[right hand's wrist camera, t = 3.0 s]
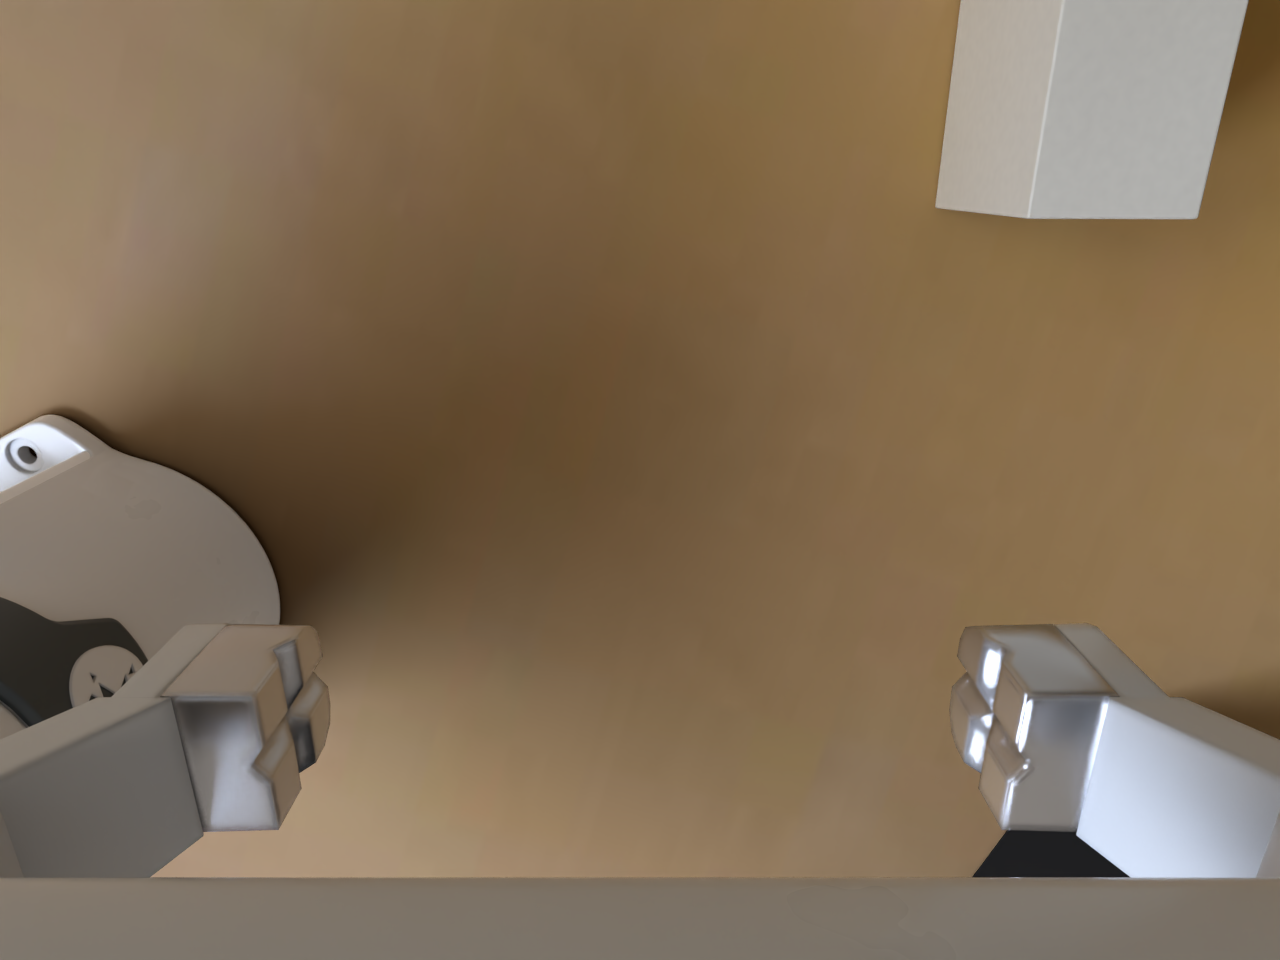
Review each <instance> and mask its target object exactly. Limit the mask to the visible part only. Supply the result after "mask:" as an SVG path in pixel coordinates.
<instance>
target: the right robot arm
mask: <svg viewBox="0 0 1280 960" xmlns="http://www.w3.org/2000/svg"><path fill="white" fill-rule="evenodd" d="M29 447H30V448H32V449H33V450H34V451H35V452H36V454H37V458H36V457H34V456H33V455H32V454H31V453H30V451H29ZM279 623H280V598H279V591H278V585H277V582H276V578H275V574H274V572H273V569H272V566H271V564H270V561H269V559H268V557H267V555H266V553H265V551H264V549H263V547H262V546H261V544H260V542H259V541H258V539H257V538H256V536H255V535H254V533H253V532H252V531H251V529H250V528H249V527H248V526H247V524H246V523H245V522H244V521H243V520H242V519H241V517H240V516H239V515H238V514H237V513H236V512H235V511H234V510H233V509H232V508H231V507H230V506H229V505H227V504H226V503H225V502H224V501H223V500H222V499H220V498H219V497H218V496H217V495H215V494H214V493H213V492H211V491H210V490H208V489H207V488H205V487H204V486H202V485H201V484H199V483H198V482H196V481H194V480H192V479H191V478H189V477H187V476H185V475H183V474H181V473H179V472H177V471H174V470H172V469H170V468H167V467H165V466H162V465H159V464H156V463H153V462H149V461H146V460H143V459H139V458H136V457H133V456H130V455H127V454H124V453H121V452H119V451H117V450H115V449H112V448H111V447H109V446H108V445H107V444H105V443H104V442H102V441H101V440H100V439H98V438H97V437H95V436H94V435H93V434H91V433H90V432H88V431H87V430H86V429H84V428H82V427H81V426H79V425H78V424H76V423H74V422H73V421H71V420H69V419H67V418H64V417H62V416H58V415H44V416H41V417H38V418H36V419H34V420H33V421H31V422H29V423H27V424H25V425H23V426H21V427H20V428H18V429H16V430H14V431H12V432H10V433H8V434H7V435H5V436H3V437H1V438H0V960H1280V740H1279V739H1277V738H1275V737H1272V736H1270V735H1268V734H1266V733H1263V732H1261V731H1259V730H1256V729H1254V728H1252V727H1249V726H1247V725H1245V724H1243V723H1240V722H1238V721H1236V720H1233V719H1231V718H1229V717H1226V716H1224V715H1222V714H1220V713H1217V712H1215V711H1213V710H1210V709H1208V708H1206V707H1203V706H1201V705H1199V704H1197V703H1194V702H1192V701H1190V700H1187V699H1185V698H1183V697H1168V696H1167V695H1166V694H1165V693H1164V692H1163V691H1162V690H1161V689H1160V688H1159V687H1158V686H1157V685H1156V684H1155V683H1154V682H1153V681H1152V680H1151V679H1150V678H1149V677H1148V676H1147V675H1146V674H1145V673H1144V672H1143V671H1142V670H1141V669H1140V668H1139V667H1138V666H1137V665H1136V664H1135V663H1134V662H1133V661H1131V660H1130V659H1129V658H1128V657H1127V656H1126V655H1125V654H1124V653H1123V652H1122V651H1121V650H1120V649H1119V648H1118V647H1117V646H1116V645H1115V644H1114V643H1113V642H1112V641H1111V640H1110V639H1109V638H1108V637H1107V636H1106V635H1105V634H1104V633H1103V632H1102V631H1101V630H1100V629H1099V628H1098V627H1096V626H1094V625H1091V624H1088V623H1072V624H1039V625H999V626H971V627H965V629H964V631H963V634H962V636H961V638H960V642H959V648H958V654H957V657H958V658H959V660H960V662H961V663H962V665H963V666H964V668H965V669H966V671H967V672H966V673H965V674H964V675H963V676H962V677H961V678H960V679H959V680H958V681H957V682H956V683H955V684H954V685H953V686H952V692H951V700H950V709H949V711H950V722H951V732H952V735H953V738H954V742H955V745H956V748H957V750H958V752H959V754H960V756H961V757H962V759H963V761H964V763H966V764H968V765H969V766H971V767H972V768H974V769H975V770H977V771H978V772H980V773H981V776H980V782H979V788H978V789H979V790H980V792H981V794H982V796H983V797H984V799H985V801H986V803H987V805H988V806H989V808H990V810H991V812H992V813H993V815H994V817H995V819H996V821H997V822H998V824H999V826H1000V828H1001V829H1002V830H1027V831H1064V832H1077V833H1076V835H1077V836H1078V837H1079V838H1080V839H1082V840H1083V841H1084V842H1086V843H1087V844H1088V845H1089V846H1091V847H1092V848H1093V849H1095V850H1096V851H1097V852H1099V853H1100V854H1101V855H1102V856H1104V857H1105V858H1106V859H1108V860H1109V861H1110V862H1111V863H1113V864H1114V865H1115V866H1117V867H1118V868H1119V869H1120V870H1122V871H1123V872H1124V873H1126V874H1127V875H1128V876H1129V877H1010V878H150V877H151V876H152V875H153V874H155V873H156V872H157V871H159V870H160V869H161V868H162V867H164V866H165V865H166V864H168V863H169V862H170V861H171V860H173V859H174V858H175V857H177V856H178V855H179V854H181V853H182V852H183V851H184V850H186V849H187V848H188V847H190V846H191V845H192V844H193V843H195V842H196V841H197V840H199V839H200V838H201V837H202V836H203V835H204V834H203V832H216V831H251V830H279V828H280V826H281V824H282V822H283V821H284V819H285V817H286V815H287V814H288V812H289V810H290V808H291V806H292V805H293V803H294V801H295V799H296V797H297V796H298V794H299V792H300V790H301V782H300V776H299V773H300V772H302V771H303V770H305V769H306V768H308V767H309V766H311V765H312V764H314V763H316V761H317V759H318V757H319V755H320V753H321V752H322V750H323V748H324V746H325V742H326V738H327V733H328V729H329V725H330V698H329V691H328V686H327V685H326V684H325V683H324V682H323V681H322V680H321V679H320V678H319V677H318V676H317V675H316V674H315V673H314V672H313V671H314V669H315V668H316V666H317V665H318V663H319V662H320V660H321V658H322V657H323V654H322V649H321V644H320V639H319V634H318V632H317V631H316V630H315V629H314V628H313V627H312V626H311V625H279Z"/></svg>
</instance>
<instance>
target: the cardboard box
mask: <svg viewBox="0 0 1280 960" xmlns="http://www.w3.org/2000/svg"><path fill="white" fill-rule="evenodd" d="M1076 833H1077V832H1064V831H1027V830H1007V832H1006V833H1005V834H1004V836H1003V837H1002V838H1001V840H1000V841H999V842H998V844H997V845H996V846H995V848H994V849H993V850H992V852H991V853H990V854H989V856H988V857H987V858H986V860H985V861H984V862H983V864H982V865H981V866H980V868H979V869H978V870H977V872H976V873H975V874H974V876H973V877H972V878H1010V877H1129V876H1128V875H1127V874H1126V873H1124V872H1123V871H1122V870H1120V869H1119V868H1118V867H1117V866H1115V865H1114V864H1113V863H1111V862H1110V861H1109V860H1108V859H1106V858H1105V857H1104V856H1102V855H1101V854H1100V853H1099V852H1097V851H1096V850H1095V849H1093V848H1092V847H1091V846H1089V845H1088V844H1087V843H1086V842H1084V841H1083V840H1082V839H1080V838H1079V837H1078V836H1077V835H1076Z"/></svg>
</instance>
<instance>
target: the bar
mask: <svg viewBox="0 0 1280 960" xmlns="http://www.w3.org/2000/svg"><path fill="white" fill-rule="evenodd" d="M1248 1H1249V0H961V3H960V11H959V19H958V28H957V36H956V44H955V52H954V60H953V68H952V76H951V84H950V92H949V100H948V108H947V116H946V124H945V132H944V140H943V148H942V156H941V164H940V172H939V181H938V189H937V197H936V205H935V206H936V208H940V209H948V210H957V211H966V212H974V213H983V214H991V215H1000V216H1009V217H1017V218H1026V219H1196V218H1197V217H1198V215H1199V211H1200V206H1201V202H1202V198H1203V194H1204V189H1205V185H1206V181H1207V177H1208V172H1209V168H1210V164H1211V159H1212V155H1213V151H1214V147H1215V142H1216V138H1217V134H1218V129H1219V125H1220V121H1221V117H1222V112H1223V108H1224V104H1225V100H1226V95H1227V91H1228V87H1229V82H1230V78H1231V74H1232V70H1233V65H1234V61H1235V57H1236V53H1237V48H1238V44H1239V40H1240V35H1241V31H1242V27H1243V23H1244V18H1245V14H1246V10H1247V5H1248Z"/></svg>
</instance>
